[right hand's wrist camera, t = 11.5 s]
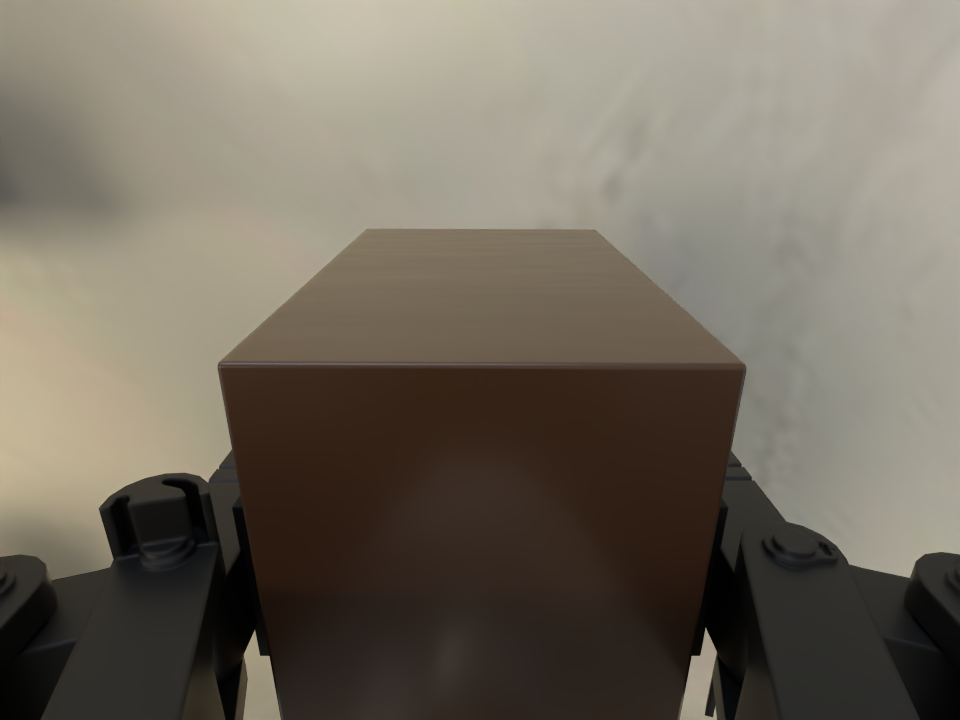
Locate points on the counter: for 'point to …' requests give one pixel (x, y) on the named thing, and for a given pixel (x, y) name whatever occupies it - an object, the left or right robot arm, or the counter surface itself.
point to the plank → (481, 479)
